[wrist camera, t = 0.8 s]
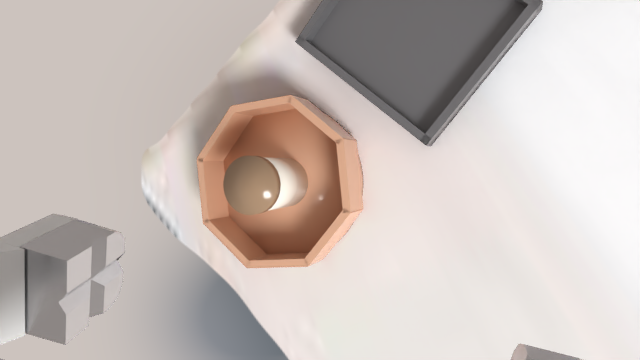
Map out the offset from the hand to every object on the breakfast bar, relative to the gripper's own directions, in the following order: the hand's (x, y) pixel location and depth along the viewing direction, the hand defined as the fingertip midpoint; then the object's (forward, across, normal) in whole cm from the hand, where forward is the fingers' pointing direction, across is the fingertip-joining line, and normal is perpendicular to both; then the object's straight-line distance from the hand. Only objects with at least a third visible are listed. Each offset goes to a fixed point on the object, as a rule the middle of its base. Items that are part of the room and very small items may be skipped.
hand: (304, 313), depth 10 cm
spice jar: (+42, +10, +12) cm, 45 cm away
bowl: (+43, +10, +12) cm, 46 cm away
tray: (+44, +1, -6) cm, 44 cm away
